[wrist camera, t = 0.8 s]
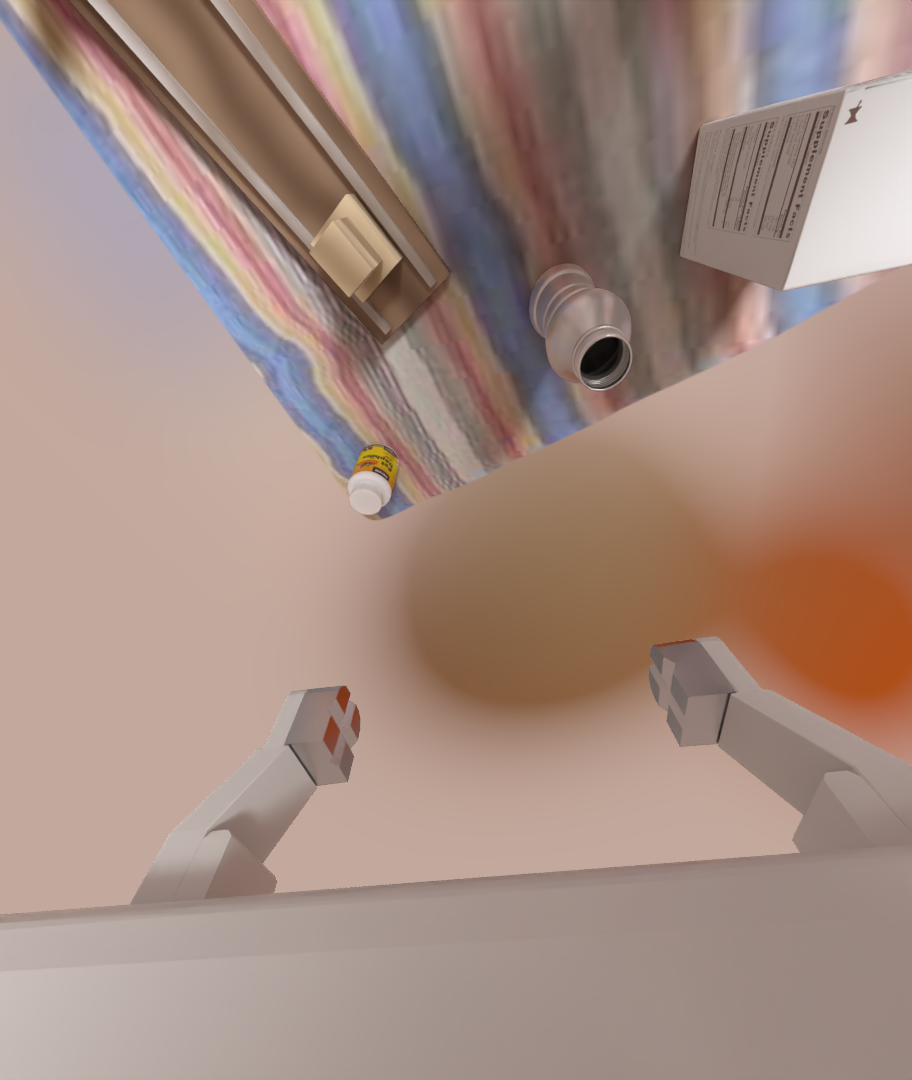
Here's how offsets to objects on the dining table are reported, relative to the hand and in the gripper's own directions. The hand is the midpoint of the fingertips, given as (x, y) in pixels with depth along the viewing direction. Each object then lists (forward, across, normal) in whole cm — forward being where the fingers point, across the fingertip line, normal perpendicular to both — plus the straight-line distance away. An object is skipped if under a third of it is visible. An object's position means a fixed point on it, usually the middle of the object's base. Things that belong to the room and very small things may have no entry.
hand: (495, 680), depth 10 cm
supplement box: (+38, -27, -14) cm, 49 cm away
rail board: (+39, +12, -25) cm, 48 cm away
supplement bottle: (+46, +13, +6) cm, 48 cm away
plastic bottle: (+41, -11, -8) cm, 43 cm away
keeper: (+39, +7, -16) cm, 42 cm away
